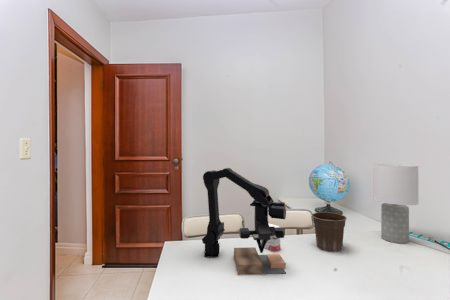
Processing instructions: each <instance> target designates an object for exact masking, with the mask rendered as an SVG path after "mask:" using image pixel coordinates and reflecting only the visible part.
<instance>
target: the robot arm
mask: <svg viewBox="0 0 450 300" xmlns="http://www.w3.org/2000/svg"><path fill="white" fill-rule="evenodd" d="M223 178H226V179H228V180H229V181H231V182H232V183H233V184H235V185H237V186H238V187H240V188H241V189H243V190H245V191H246V192H247V193H248V195H250V197H251V198H252V199H253V201H252V202H251V203H250V204H249V206H250V207H254V230H250V229H249V227H240V228H239V231H238V233H239V237H240V239H241V240H242V239H249V238H251V237H252V239H253V241H256V243H257V246H258V249H259V252H260V254H263V252H264V249H265V248H264V247H265V244H266V242H267V241H268V240H271V238H270V237H271V236H276V237H277V238H280V239H283V238H285V232H284V230H283V229H282V228H281V227H280V228H275V227H269V224H268V223H269V217H270V218H271V219H279V220H286V218H287V209H286V203H285V202H276V201H275V200H274V199H273V197H271V194H270V191H269V189H268V188H267V187H265V186H262V185H261V184H257V183H254V182H252V181H250V180H249V179H247V178H246V177H243V176H242V175H240V174H239V173H237V172H236V171H235V170H233V169H232V168H230V167H226V168H223V169H220V170H207V171H205V172H204V173H203V175H202V180H203V184H204V187H205V188H206V192H207V205H208V220H209V221H208V224H207V227H206V228H207V229H206V235H205V236H203V238H202V239H201V241H202V244H204V258H217V257H218V258H219V255H220V243H219V240H220V239H221V237H222V236H223V235H224V233H225V231H226V229H225V222H222V221H221V219H220V210H219V195H218V188H219V185H220V180H221V179H223Z"/></svg>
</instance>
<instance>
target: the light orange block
mask: <svg viewBox="0 0 450 300" xmlns="http://www.w3.org/2000/svg"><path fill="white" fill-rule="evenodd" d="M265 255H266V259H267V261H268V263H269V265H270V267H271V268H284V269H286V261H285V260H284V259H283V257H282V255H281V254H280V253H266V254H265Z"/></svg>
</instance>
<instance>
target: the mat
mask: <svg viewBox="0 0 450 300" xmlns="http://www.w3.org/2000/svg"><path fill="white" fill-rule="evenodd" d="M258 255H259V257H260V259H261V262H262V264H263V274H262V275H287V271H286V270H285V268H271V267H270V265H269V263H268V261H267V259H266V254H258Z"/></svg>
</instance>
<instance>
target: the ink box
mask: <svg viewBox="0 0 450 300" xmlns="http://www.w3.org/2000/svg"><path fill="white" fill-rule="evenodd" d="M268 224H269V227H275V228H281V226H279V225H276V224H272V223H269V222H268ZM270 238H271V240H268V241H267V242H266V244H265V247H264V249H267V250H269V251H271V252H273V253H277V252H278V251H280V250H281V238H277V237H276V236H271V237H270Z"/></svg>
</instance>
